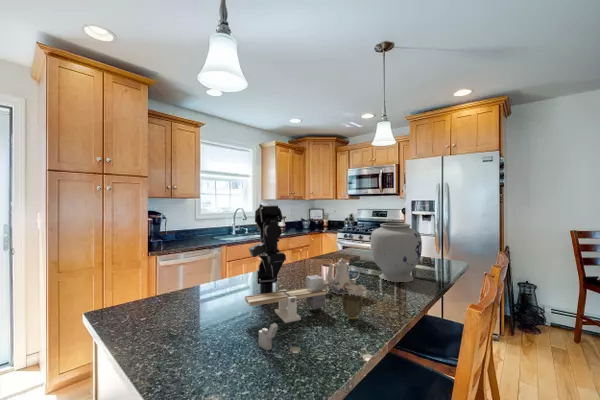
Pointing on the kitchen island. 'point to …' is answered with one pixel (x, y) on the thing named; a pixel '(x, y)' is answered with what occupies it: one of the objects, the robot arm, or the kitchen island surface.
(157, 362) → the kitchen island surface
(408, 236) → the apothecary jar
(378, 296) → the kitchen island surface
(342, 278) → the chinaware
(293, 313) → the pivot stand
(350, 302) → the cup
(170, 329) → the kitchen island surface
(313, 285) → the steel block
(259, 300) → the beam
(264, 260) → the robot arm
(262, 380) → the kitchen island surface
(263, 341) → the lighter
